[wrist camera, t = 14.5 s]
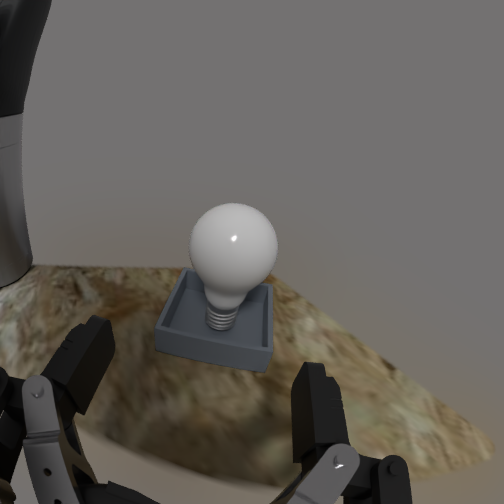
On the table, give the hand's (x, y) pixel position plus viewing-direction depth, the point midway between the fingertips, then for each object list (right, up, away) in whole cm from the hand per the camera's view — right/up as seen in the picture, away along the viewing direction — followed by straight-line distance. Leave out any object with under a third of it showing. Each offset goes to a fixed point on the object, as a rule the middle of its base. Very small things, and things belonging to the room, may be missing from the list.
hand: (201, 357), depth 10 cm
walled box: (-1, -2, +14) cm, 14 cm away
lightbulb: (-1, -2, +13) cm, 14 cm away
